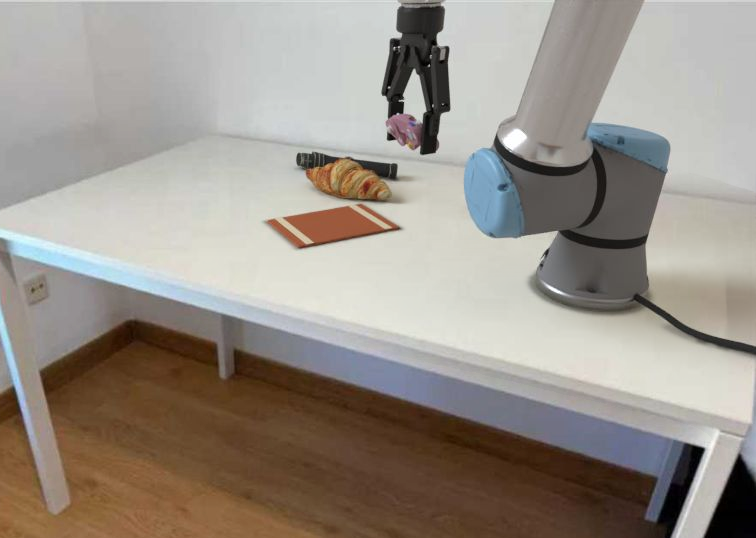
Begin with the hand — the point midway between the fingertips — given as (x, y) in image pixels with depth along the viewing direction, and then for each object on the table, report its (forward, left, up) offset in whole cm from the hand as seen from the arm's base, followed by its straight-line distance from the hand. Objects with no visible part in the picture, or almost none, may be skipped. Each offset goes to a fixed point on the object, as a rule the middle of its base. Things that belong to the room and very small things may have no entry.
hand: (410, 146), depth 120 cm
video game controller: (0, 0, 0) cm, 0 cm away
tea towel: (+4, +13, -14) cm, 19 cm away
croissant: (+19, +2, -14) cm, 23 cm away
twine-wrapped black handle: (+31, -4, -14) cm, 34 cm away
